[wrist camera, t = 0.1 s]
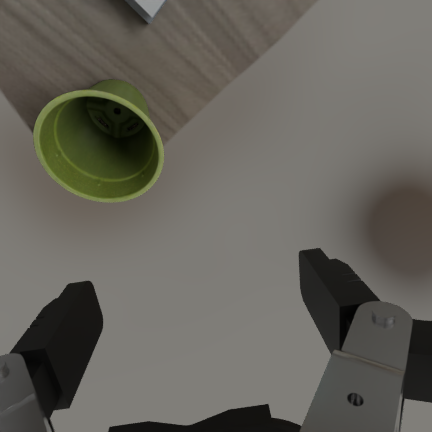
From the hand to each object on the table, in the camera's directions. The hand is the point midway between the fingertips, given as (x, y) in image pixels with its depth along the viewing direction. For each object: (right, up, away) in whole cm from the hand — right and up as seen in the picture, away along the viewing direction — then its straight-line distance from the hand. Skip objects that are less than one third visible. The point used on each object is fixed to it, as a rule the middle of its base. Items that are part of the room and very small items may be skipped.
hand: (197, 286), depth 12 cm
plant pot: (-11, +16, +27) cm, 33 cm away
